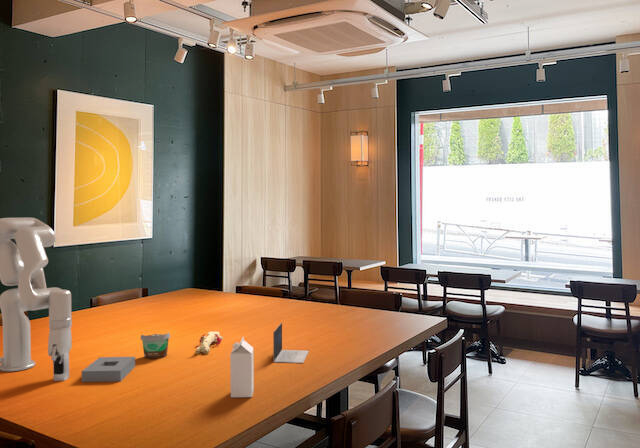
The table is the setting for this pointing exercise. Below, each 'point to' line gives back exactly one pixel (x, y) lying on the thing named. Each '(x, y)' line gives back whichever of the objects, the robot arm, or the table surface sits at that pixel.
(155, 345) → the food container
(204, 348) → the beige piece
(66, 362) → the steel pin
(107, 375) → the block
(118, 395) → the table surface
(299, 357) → the laptop
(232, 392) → the milk carton
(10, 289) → the robot arm
